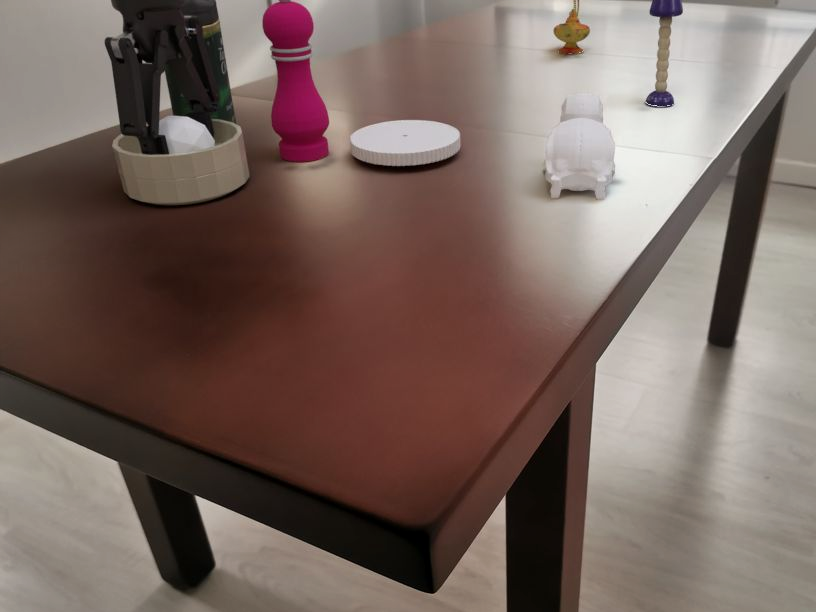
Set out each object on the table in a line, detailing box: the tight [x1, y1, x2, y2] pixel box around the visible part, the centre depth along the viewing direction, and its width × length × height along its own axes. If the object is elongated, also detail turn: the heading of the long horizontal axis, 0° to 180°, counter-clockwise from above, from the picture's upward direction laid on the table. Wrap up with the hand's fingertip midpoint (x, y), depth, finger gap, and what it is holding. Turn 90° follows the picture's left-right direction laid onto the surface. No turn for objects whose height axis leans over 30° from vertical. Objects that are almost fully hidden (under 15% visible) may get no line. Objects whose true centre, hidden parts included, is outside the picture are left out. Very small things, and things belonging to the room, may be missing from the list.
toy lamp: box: [644, 0, 684, 108], centre depth 117 cm, size 5×5×17 cm
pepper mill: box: [262, 0, 330, 163], centre depth 99 cm, size 7×7×20 cm
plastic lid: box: [349, 119, 461, 167], centre depth 103 cm, size 14×14×2 cm
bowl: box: [111, 119, 250, 206], centre depth 94 cm, size 14×14×6 cm
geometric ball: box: [159, 115, 215, 154], centre depth 93 cm, size 8×8×8 cm
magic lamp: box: [552, 0, 591, 55], centre depth 149 cm, size 7×18×11 cm, turn 165°
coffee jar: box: [164, 0, 237, 124], centre depth 108 cm, size 10×8×19 cm
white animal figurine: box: [542, 91, 616, 201], centre depth 93 cm, size 8×8×15 cm
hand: (187, 178), depth 95 cm, fingers closed on geometric ball, 8 cm apart
